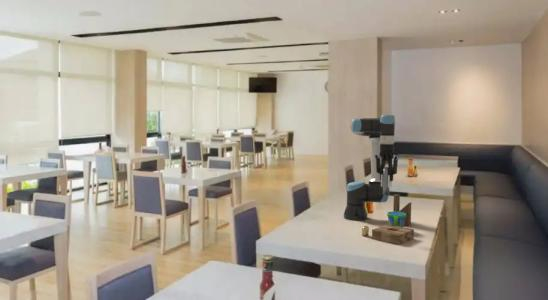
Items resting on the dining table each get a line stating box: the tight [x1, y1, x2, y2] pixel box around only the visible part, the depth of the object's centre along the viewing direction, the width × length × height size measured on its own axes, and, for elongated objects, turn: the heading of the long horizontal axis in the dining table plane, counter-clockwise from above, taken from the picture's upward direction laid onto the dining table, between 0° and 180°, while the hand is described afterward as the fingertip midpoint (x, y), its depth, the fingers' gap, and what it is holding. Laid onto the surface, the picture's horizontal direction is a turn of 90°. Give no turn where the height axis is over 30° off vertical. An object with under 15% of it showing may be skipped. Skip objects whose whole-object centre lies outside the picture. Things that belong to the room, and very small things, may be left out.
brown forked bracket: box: [392, 193, 412, 227], centre depth 272 cm, size 4×11×18 cm, turn 49°
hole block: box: [371, 224, 415, 246], centre depth 240 cm, size 16×16×5 cm
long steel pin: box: [383, 166, 391, 196], centre depth 243 cm, size 4×4×15 cm
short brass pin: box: [361, 225, 370, 238], centre depth 246 cm, size 4×4×5 cm
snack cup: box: [386, 211, 406, 228], centre depth 257 cm, size 16×10×10 cm
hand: (386, 186), depth 243 cm, fingers closed on long steel pin, 4 cm apart
